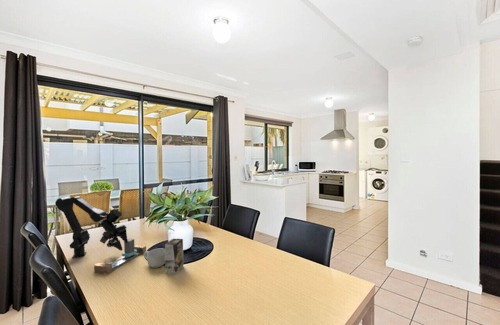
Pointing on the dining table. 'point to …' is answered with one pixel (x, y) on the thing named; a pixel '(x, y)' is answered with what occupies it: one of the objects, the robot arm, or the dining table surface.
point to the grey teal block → (129, 248)
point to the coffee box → (173, 256)
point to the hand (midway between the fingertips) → (124, 246)
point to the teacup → (155, 257)
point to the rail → (118, 261)
